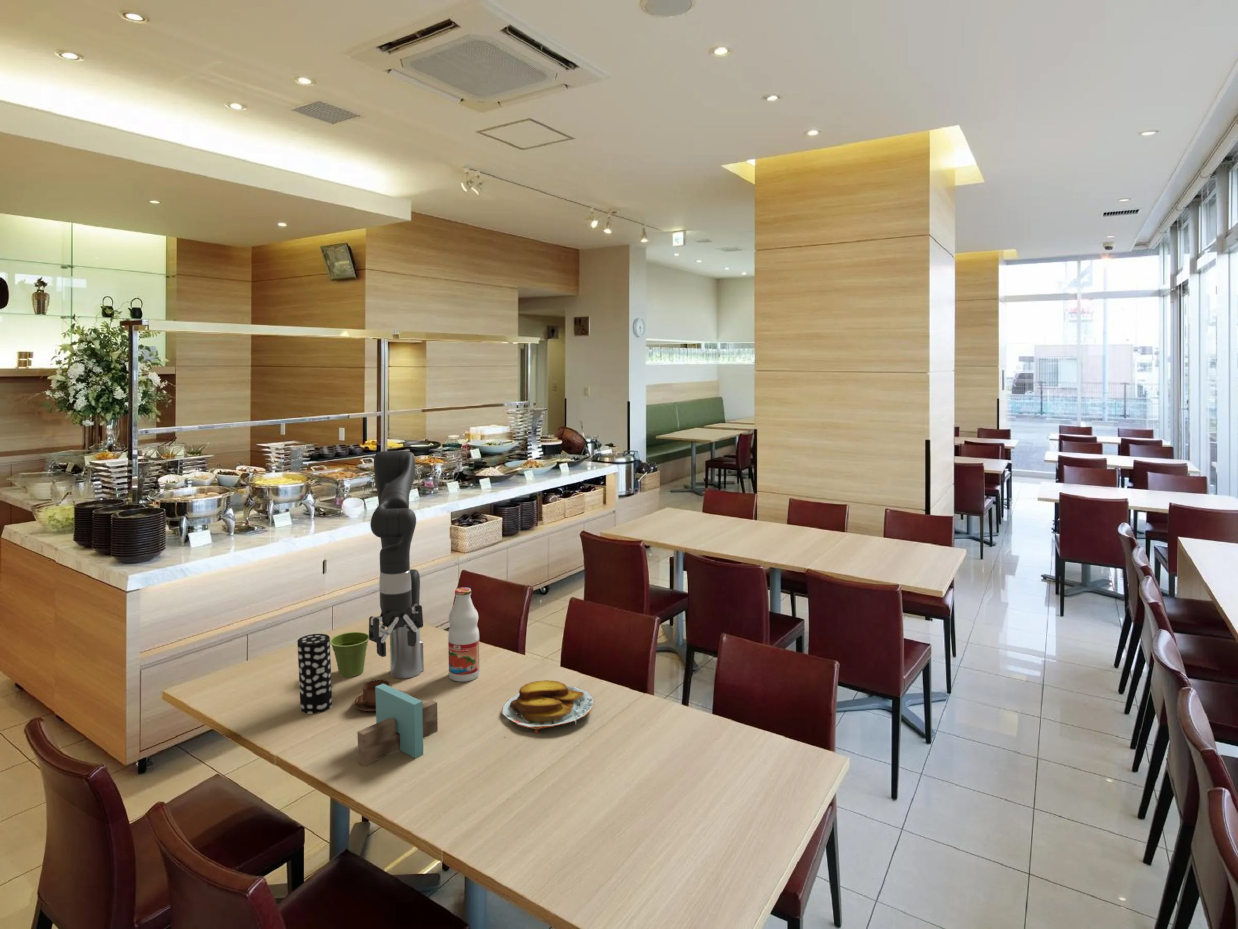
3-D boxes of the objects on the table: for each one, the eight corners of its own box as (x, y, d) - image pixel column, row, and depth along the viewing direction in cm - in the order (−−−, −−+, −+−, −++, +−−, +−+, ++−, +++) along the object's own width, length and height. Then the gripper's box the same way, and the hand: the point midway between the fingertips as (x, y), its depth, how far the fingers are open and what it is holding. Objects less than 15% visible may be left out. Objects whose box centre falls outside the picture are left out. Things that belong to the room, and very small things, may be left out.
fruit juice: (485, 672, 229) (484, 587, 225) (469, 684, 220) (468, 595, 216) (459, 668, 232) (458, 583, 228) (442, 679, 223) (441, 592, 219)
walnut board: (432, 728, 193) (431, 699, 192) (437, 730, 192) (437, 702, 191) (358, 762, 176) (357, 731, 175) (364, 765, 175) (363, 734, 174)
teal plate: (384, 734, 190) (383, 683, 188) (423, 754, 180) (422, 701, 178) (376, 737, 188) (375, 686, 186) (415, 758, 178) (414, 704, 176)
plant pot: (332, 667, 231) (331, 633, 229) (371, 663, 234) (370, 630, 233) (329, 683, 220) (327, 647, 218) (370, 678, 223) (369, 643, 222)
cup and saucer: (384, 717, 199) (384, 696, 198) (345, 712, 202) (344, 691, 201) (406, 698, 211) (405, 678, 210) (369, 694, 213) (368, 674, 212)
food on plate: (546, 746, 186) (546, 721, 185) (483, 714, 202) (483, 692, 201) (613, 710, 205) (613, 688, 204) (550, 684, 222) (550, 663, 221)
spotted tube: (324, 714, 200) (322, 645, 197) (295, 713, 200) (291, 644, 198) (337, 700, 208) (334, 634, 206) (308, 700, 208) (305, 633, 206)
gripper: (379, 598, 171) (381, 663, 173) (428, 584, 182) (430, 646, 184) (361, 591, 175) (363, 655, 177) (410, 578, 186) (411, 639, 189)
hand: (397, 650), depth 181 cm, fingers open, 8 cm apart
